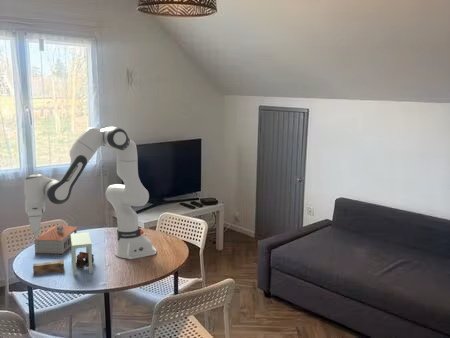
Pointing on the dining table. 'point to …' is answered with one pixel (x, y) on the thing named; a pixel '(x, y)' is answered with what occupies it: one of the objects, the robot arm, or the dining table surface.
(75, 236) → the footstool
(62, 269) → the push stick
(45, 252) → the model house
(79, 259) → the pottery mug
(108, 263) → the dining table surface
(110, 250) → the dining table surface
